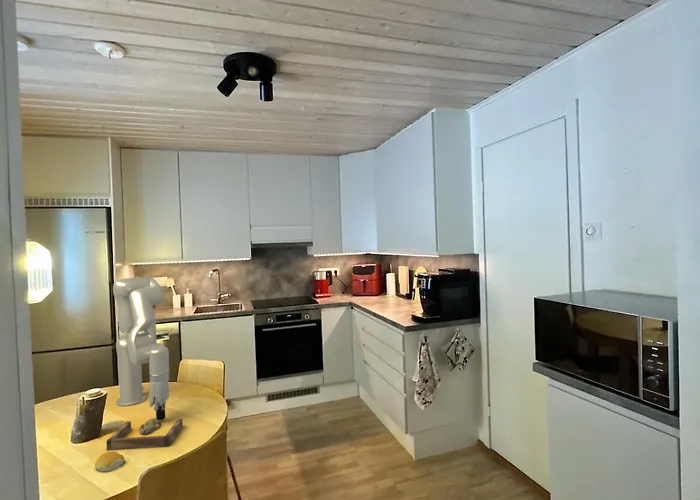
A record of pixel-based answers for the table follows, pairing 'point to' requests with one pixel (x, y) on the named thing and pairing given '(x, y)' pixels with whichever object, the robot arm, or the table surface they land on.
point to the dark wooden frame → (141, 438)
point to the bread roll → (109, 461)
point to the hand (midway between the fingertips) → (160, 419)
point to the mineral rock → (149, 426)
